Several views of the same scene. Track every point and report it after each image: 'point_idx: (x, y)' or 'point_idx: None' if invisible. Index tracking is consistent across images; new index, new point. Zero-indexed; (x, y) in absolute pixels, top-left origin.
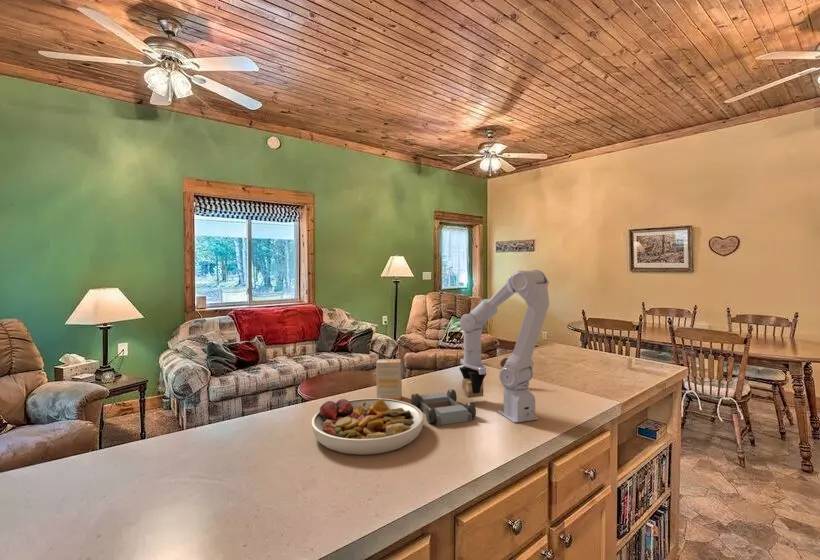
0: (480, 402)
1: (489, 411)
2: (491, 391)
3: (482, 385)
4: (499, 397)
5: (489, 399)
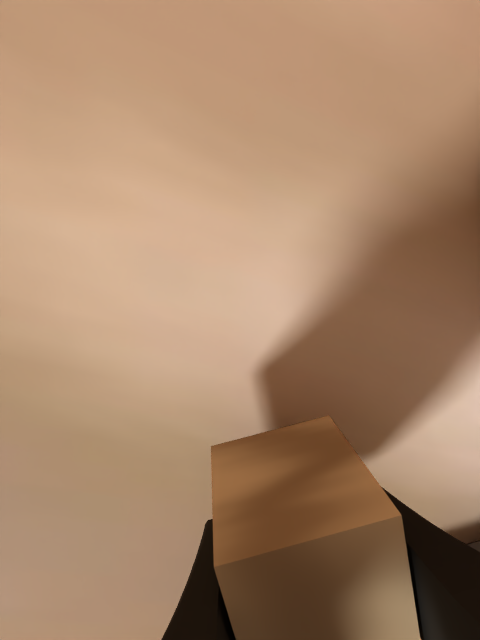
0: (289, 407)
1: (468, 386)
2: (9, 247)
3: (375, 486)
4: (189, 224)
5: (231, 324)
